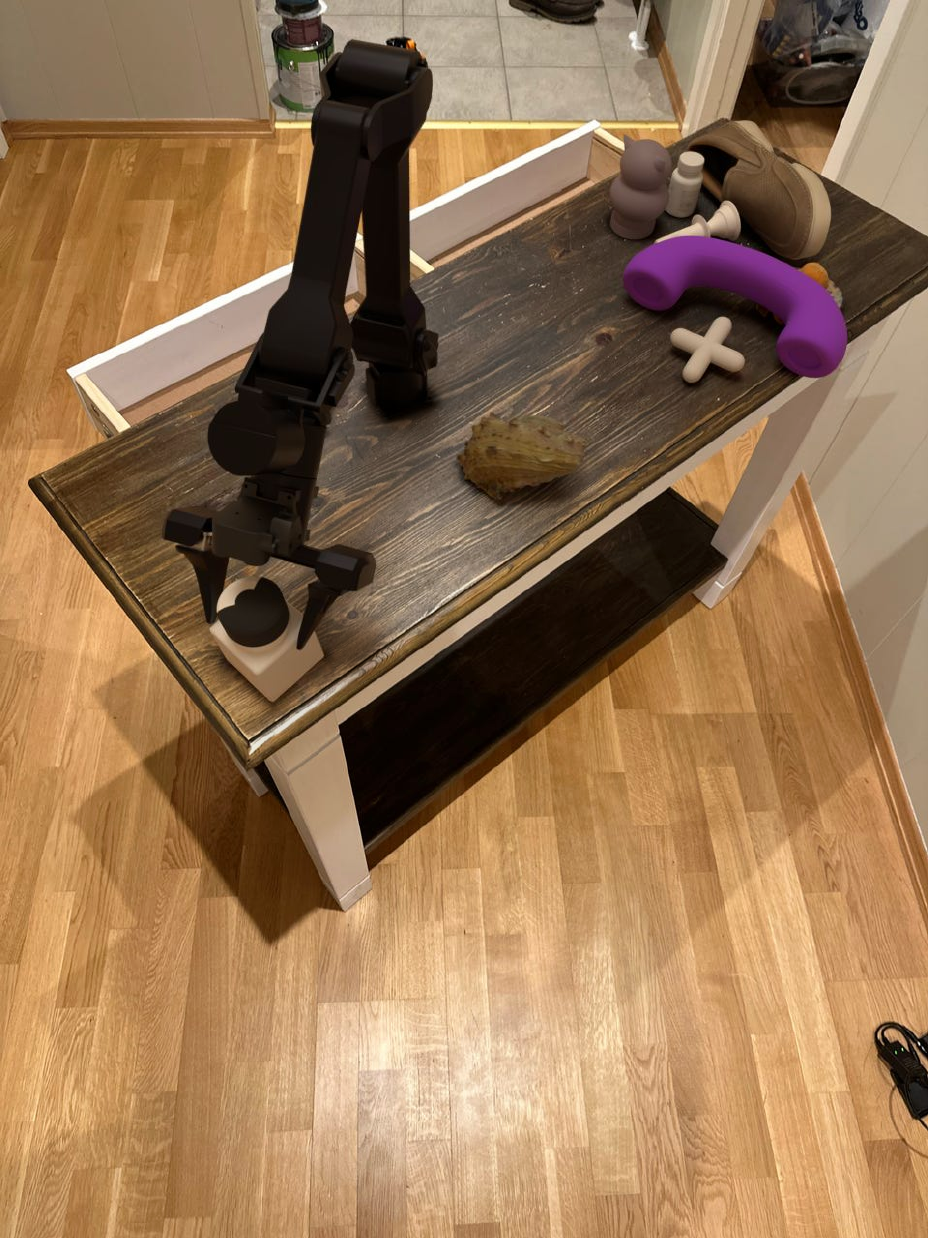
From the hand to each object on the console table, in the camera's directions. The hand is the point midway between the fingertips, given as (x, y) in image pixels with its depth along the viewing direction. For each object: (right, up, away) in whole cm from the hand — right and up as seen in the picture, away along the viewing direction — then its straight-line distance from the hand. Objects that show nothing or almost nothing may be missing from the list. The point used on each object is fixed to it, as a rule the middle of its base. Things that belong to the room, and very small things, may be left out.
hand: (254, 635), depth 81 cm
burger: (+64, +44, +36) cm, 86 cm away
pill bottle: (+51, +61, +47) cm, 93 cm away
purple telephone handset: (+51, +51, +27) cm, 77 cm away
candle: (+57, +57, +41) cm, 91 cm away
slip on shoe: (+64, +62, +41) cm, 99 cm away
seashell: (+26, +18, +21) cm, 38 cm away
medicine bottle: (+1, -2, +7) cm, 7 cm away
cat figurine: (+44, +58, +45) cm, 85 cm away
